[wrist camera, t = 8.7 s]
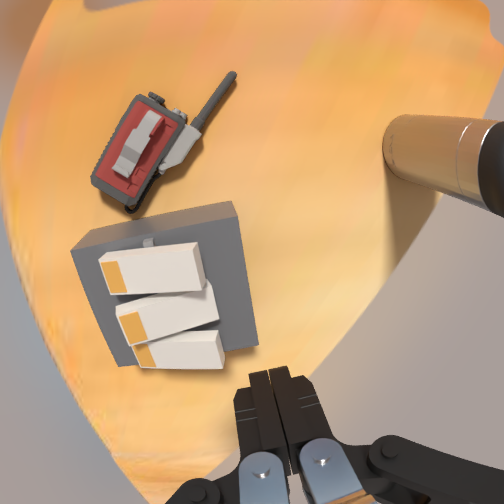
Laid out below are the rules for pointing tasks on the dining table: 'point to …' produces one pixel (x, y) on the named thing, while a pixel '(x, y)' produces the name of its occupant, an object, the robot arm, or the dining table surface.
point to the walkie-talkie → (148, 145)
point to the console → (170, 233)
